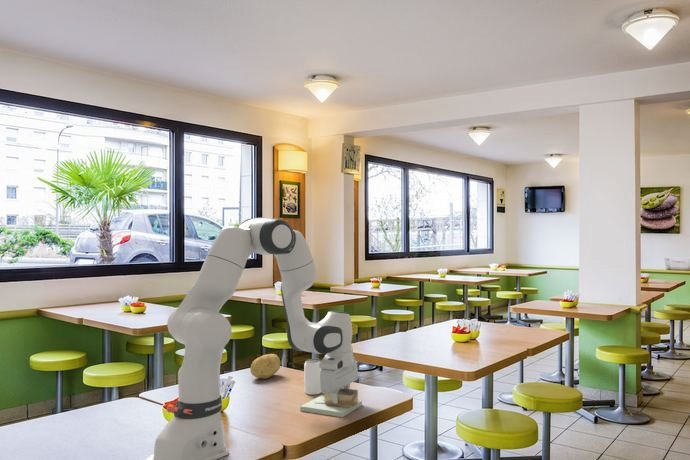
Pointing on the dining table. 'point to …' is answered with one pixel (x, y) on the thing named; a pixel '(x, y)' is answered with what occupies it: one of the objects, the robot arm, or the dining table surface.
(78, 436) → the dining table surface
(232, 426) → the dining table surface
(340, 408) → the board
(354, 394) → the block
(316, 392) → the can
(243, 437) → the dining table surface
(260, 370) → the potato
